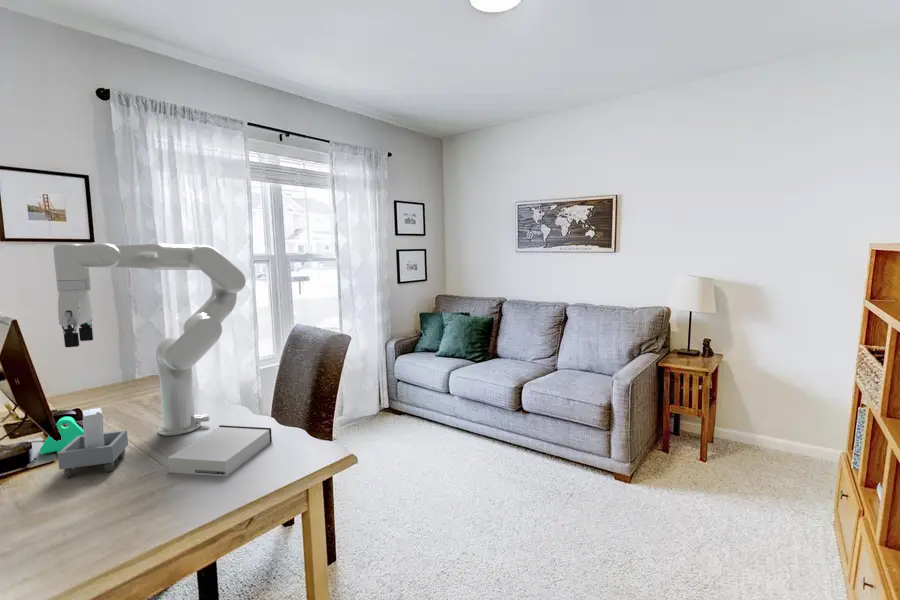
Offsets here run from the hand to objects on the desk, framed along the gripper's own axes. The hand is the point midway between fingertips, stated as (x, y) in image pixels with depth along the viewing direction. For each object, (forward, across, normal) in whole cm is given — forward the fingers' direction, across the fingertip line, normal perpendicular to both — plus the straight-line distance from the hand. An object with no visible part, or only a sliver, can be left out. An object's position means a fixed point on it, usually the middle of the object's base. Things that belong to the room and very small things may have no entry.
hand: (79, 343), depth 133 cm
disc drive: (+34, +18, +39) cm, 55 cm away
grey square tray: (+33, +13, +6) cm, 36 cm away
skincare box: (+30, +13, +6) cm, 33 cm away
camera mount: (+34, -6, -7) cm, 35 cm away
